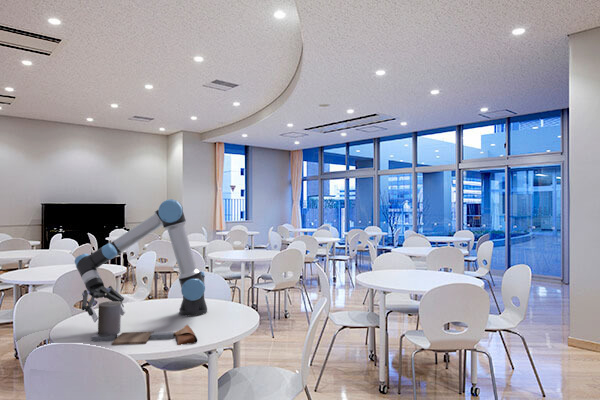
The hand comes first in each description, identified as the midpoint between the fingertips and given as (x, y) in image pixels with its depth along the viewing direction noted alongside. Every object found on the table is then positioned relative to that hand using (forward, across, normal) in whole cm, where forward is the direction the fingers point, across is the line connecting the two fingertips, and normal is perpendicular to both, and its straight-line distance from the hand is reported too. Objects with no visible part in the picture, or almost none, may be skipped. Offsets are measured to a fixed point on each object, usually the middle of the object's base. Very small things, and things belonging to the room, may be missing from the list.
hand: (110, 317), depth 189 cm
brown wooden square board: (+17, -1, +7) cm, 18 cm away
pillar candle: (+5, 0, -6) cm, 8 cm away
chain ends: (+17, -1, +7) cm, 18 cm away
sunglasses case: (+30, -14, +19) cm, 38 cm away
